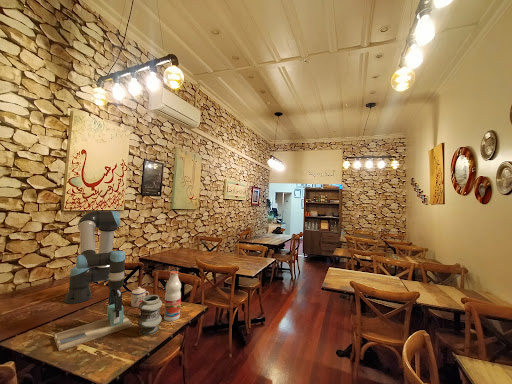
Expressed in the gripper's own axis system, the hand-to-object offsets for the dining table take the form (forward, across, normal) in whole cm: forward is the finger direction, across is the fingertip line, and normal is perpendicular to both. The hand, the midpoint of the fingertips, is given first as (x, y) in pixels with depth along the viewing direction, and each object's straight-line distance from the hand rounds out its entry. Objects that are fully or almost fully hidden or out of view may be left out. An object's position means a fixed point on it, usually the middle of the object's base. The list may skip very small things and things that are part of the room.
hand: (113, 319), depth 132 cm
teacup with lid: (+4, -20, +22) cm, 30 cm away
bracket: (+1, 0, +1) cm, 2 cm away
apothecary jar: (+4, +18, +12) cm, 22 cm away
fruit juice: (+4, +13, +28) cm, 31 cm away
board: (+4, -1, -9) cm, 9 cm away
